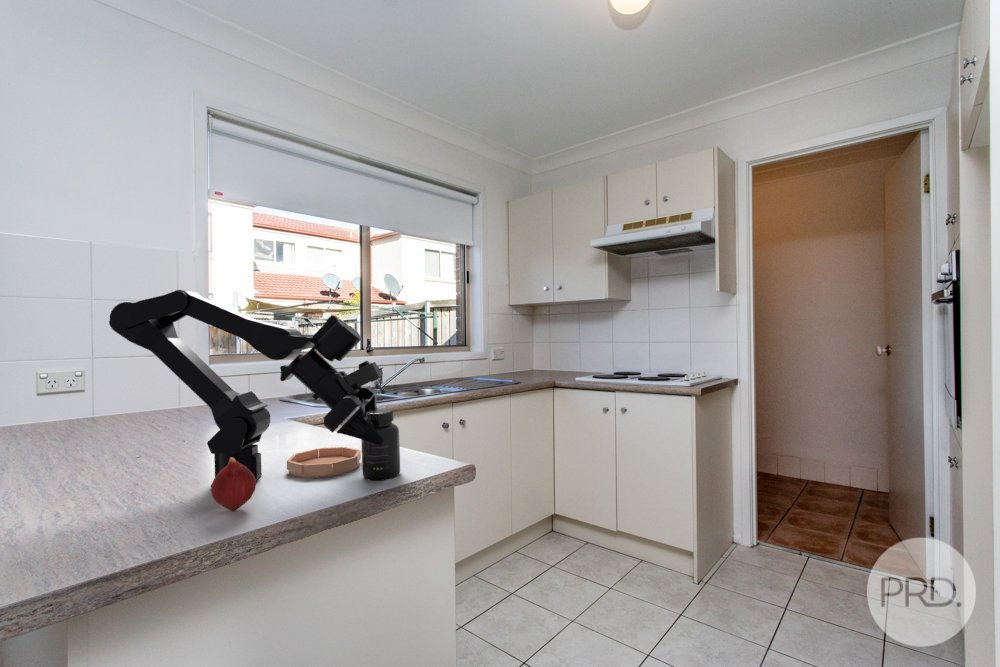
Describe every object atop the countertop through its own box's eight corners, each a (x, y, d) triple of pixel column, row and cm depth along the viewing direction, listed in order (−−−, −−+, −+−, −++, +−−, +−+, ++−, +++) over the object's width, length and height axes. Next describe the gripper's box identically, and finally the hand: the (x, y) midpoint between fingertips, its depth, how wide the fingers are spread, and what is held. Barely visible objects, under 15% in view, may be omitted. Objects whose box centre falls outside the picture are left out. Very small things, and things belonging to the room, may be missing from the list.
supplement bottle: (366, 471, 91) (364, 408, 91) (402, 469, 91) (401, 407, 91) (358, 482, 84) (357, 414, 84) (397, 480, 85) (396, 413, 85)
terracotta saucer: (280, 479, 86) (280, 466, 86) (299, 460, 99) (298, 449, 99) (354, 475, 88) (354, 462, 88) (363, 456, 101) (363, 445, 101)
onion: (264, 504, 74) (262, 452, 74) (240, 518, 68) (239, 463, 68) (229, 503, 75) (228, 452, 75) (202, 517, 69) (201, 462, 69)
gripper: (341, 349, 78) (411, 413, 79) (363, 346, 97) (420, 398, 98) (293, 399, 77) (364, 463, 78) (325, 386, 96) (382, 438, 97)
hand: (386, 437), depth 88 cm, fingers open, 9 cm apart
